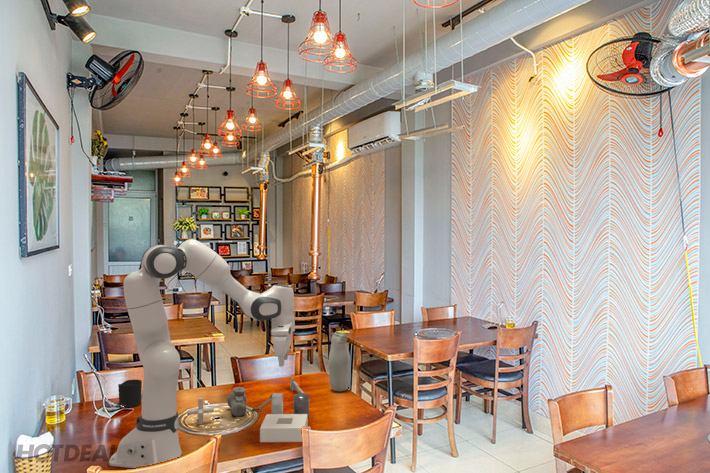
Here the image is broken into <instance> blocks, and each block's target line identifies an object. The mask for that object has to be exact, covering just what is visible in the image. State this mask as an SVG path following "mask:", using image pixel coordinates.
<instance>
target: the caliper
mask: <svg viewBox="0 0 710 473" xmlns="http://www.w3.org/2000/svg"><path fill="white" fill-rule="evenodd" d="M289 387H290V388H289V389H290V391H292V392H293V391H296V392H298V393H305V392H304V391H303V390H302V388H300V387H299V384H298V383H297V382H296V381H295V378H294V377H291V379H290V386H289ZM310 402H311V400H310V399H309V403H310Z"/></svg>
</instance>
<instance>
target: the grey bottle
mask: <svg viewBox="0 0 710 473" xmlns="http://www.w3.org/2000/svg"><path fill="white" fill-rule="evenodd" d="M330 345H331V346H330V349H329V350H330V351H329V355H328V381H329V385H330V387H331V389H332V390H333V391H335V392H345V391H346V390H348V389H349V386H350V384H351V354H350V351H349V346H348V337H347V335H346V334H345V333H343V332H334V333H332V335H331V344H330Z"/></svg>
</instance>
